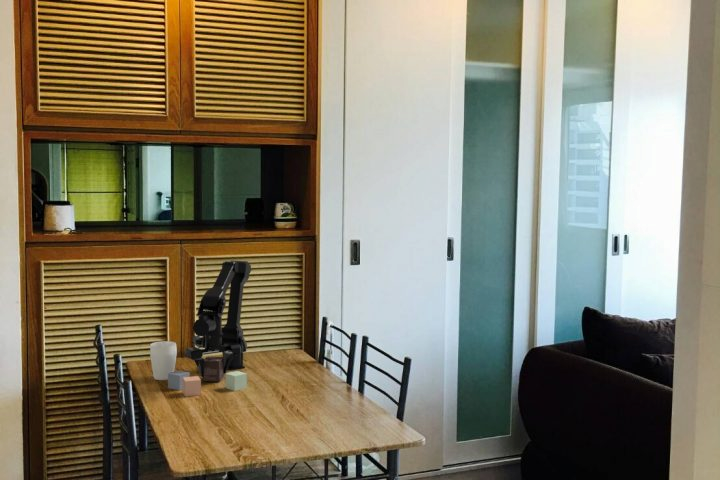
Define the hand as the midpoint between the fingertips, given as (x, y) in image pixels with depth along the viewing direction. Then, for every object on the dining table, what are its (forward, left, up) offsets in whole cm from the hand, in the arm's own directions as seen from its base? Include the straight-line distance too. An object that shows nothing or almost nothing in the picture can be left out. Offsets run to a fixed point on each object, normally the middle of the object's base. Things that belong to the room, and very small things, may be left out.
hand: (213, 375), depth 276 cm
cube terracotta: (+13, +11, -2) cm, 17 cm away
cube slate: (+14, +2, -2) cm, 14 cm away
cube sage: (-2, +13, -2) cm, 13 cm away
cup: (+13, -12, -2) cm, 18 cm away
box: (0, 0, -2) cm, 2 cm away
